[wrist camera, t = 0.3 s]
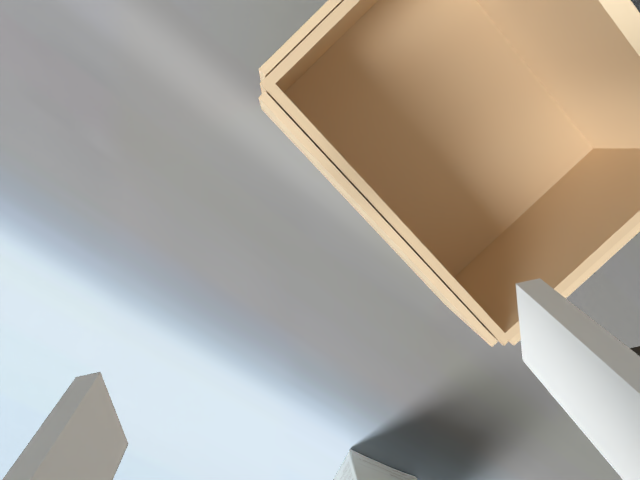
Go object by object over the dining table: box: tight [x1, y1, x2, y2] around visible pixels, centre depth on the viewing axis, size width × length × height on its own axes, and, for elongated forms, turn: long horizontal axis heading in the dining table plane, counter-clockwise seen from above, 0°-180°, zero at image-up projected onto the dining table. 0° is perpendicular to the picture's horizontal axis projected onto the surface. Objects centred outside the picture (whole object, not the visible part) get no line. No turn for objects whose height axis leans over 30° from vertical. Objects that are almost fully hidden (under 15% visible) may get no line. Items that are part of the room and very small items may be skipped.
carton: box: [259, 0, 640, 347], centre depth 36 cm, size 23×19×12 cm
